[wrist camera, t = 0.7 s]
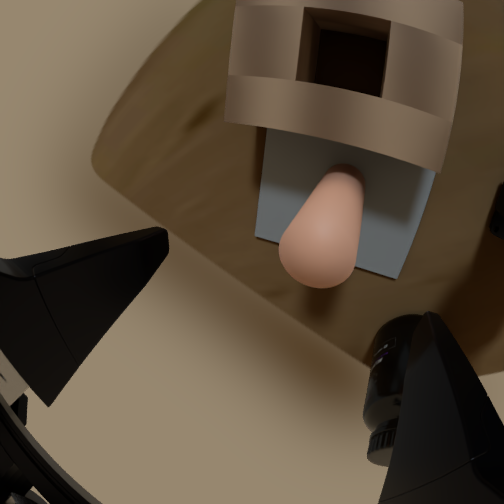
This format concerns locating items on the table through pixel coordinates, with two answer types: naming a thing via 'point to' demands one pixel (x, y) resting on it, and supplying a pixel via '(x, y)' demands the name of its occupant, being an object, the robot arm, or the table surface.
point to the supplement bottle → (387, 385)
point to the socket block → (341, 100)
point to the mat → (375, 200)
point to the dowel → (326, 230)
